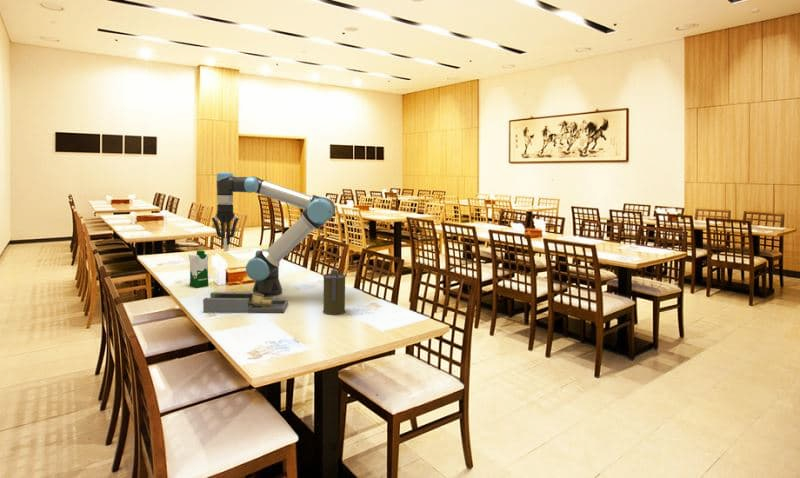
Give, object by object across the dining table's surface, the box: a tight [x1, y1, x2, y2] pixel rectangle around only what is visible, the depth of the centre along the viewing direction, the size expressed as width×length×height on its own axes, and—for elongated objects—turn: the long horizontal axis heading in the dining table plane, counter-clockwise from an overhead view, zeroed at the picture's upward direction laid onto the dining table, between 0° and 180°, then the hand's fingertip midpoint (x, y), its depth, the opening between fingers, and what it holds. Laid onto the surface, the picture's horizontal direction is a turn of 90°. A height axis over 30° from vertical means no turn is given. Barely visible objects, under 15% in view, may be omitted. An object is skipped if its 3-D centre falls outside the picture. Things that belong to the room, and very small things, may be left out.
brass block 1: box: [250, 292, 265, 306], centre depth 236 cm, size 4×4×4 cm
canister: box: [322, 268, 347, 316], centre depth 233 cm, size 11×10×20 cm
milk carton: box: [187, 249, 210, 289], centre depth 277 cm, size 9×9×20 cm
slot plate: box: [202, 291, 254, 314], centre depth 235 cm, size 20×14×6 cm
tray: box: [247, 299, 289, 314], centre depth 237 cm, size 16×15×2 cm
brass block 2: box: [262, 296, 274, 308], centre depth 236 cm, size 4×4×4 cm
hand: (226, 251), depth 250 cm, fingers closed
